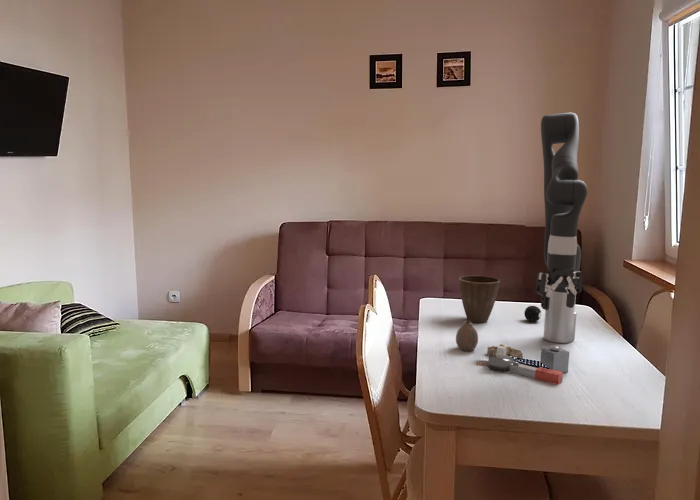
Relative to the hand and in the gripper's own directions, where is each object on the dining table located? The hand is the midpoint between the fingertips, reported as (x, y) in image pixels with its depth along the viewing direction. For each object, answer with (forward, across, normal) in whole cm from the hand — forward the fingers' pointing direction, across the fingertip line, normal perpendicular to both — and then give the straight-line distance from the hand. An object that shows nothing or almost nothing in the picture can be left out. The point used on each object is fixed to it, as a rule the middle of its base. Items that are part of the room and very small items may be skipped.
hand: (557, 308), depth 163 cm
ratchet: (+18, +10, 0) cm, 21 cm away
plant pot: (+18, -9, -53) cm, 57 cm away
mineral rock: (+19, +6, -14) cm, 24 cm away
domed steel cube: (+18, 0, 0) cm, 18 cm away
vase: (+18, +14, -24) cm, 33 cm away
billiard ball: (+18, -29, -46) cm, 57 cm away
